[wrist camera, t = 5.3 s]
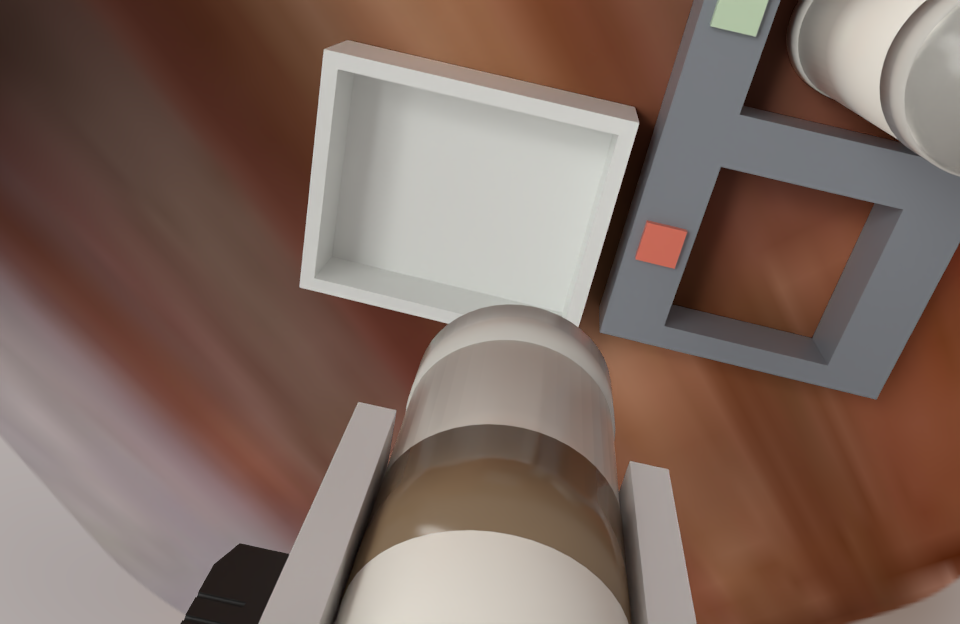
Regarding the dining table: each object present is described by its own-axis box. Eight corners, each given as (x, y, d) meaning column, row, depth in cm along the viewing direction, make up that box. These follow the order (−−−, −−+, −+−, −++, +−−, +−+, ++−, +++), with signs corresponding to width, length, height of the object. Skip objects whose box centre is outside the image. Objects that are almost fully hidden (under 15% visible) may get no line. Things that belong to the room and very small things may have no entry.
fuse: (767, 79, 29) (868, 155, 19) (815, -52, 27) (961, -51, 17) (886, 107, 29) (1056, 199, 19) (944, -23, 27) (1173, -3, 16)
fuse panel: (599, 307, 35) (599, 335, 32) (737, -142, 26) (752, -151, 24) (857, 370, 34) (878, 403, 32) (1078, -66, 26) (1129, -67, 24)
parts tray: (322, 260, 35) (299, 287, 33) (347, 39, 31) (324, 48, 28) (572, 321, 35) (570, 353, 32) (634, 107, 31) (639, 123, 28)
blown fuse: (405, 447, 19) (206, 1074, 9) (433, 285, 17) (214, 854, 7) (584, 486, 19) (604, 1163, 9) (634, 328, 17) (742, 971, 7)
